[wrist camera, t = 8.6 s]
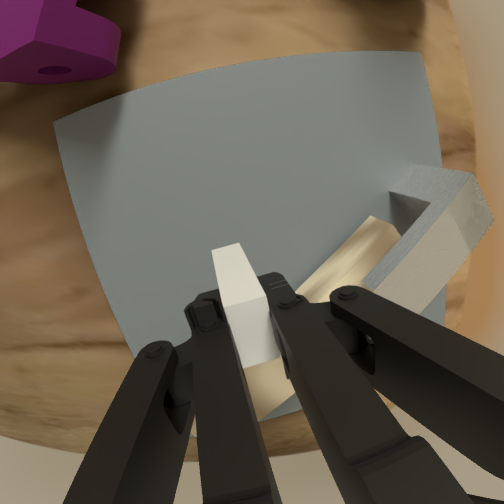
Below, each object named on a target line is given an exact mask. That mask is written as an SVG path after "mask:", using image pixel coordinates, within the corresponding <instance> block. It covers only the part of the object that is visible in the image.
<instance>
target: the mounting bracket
mask: <svg viewBox="0 0 504 504" xmlns="http://www.w3.org/2000/svg"><path fill="white" fill-rule="evenodd" d="M77 1H78V0H0V82H15V83H26V84H60V83H68V82H77V81H86V80H94V79H99V78H102V77H106V76H108V75H110V74H112V73H113V72H114V71H115V70H116V64H117V57H118V51H119V44H120V38H121V30H120V28H119V27H118V25H116V24H115V23H114V22H112V21H110V20H108V19H106V18H104V17H101V16H99V15H97V14H94V13H92V12H89V11H87V10H84V9H82V8H79V7H77V6H76V2H77Z"/></svg>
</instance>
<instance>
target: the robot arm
mask: <svg viewBox="0 0 504 504" xmlns="http://www.w3.org/2000/svg"><path fill="white" fill-rule="evenodd" d="M211 251H212V256H213V261H214V266H215V271H216V276H217V281H218V286H219V288H218V289H215V290H211V291H207V292H204V293H200V294H198V296H197V297H196V298H195V300H194V301H193V302H191V303H189V304H188V305H187V306H186V307H185V309H184V313H185V316H186V318H187V321H188V324H189V326H190V329H191V338H190V339H188V340H187V341H186V342H184V343H182V344H180V345H178V346H175V347H174V346H173V345H172V343H171V342H169V341H166V340H160V341H154V342H151V343H149V344H147V345H146V346H145V347H143V348H142V349H141V350H140V351H139V353H138V354H137V356H136V358H135V360H134V362H133V364H132V365H131V367H130V369H129V371H128V373H127V375H126V377H125V378H124V380H123V382H122V384H121V386H120V388H119V390H118V392H117V394H116V395H115V397H114V399H113V401H112V403H111V405H110V407H109V409H108V411H107V413H106V415H105V417H104V419H103V421H102V423H101V425H100V427H99V428H98V430H97V432H96V434H95V436H94V438H93V440H92V443H91V445H90V447H89V449H88V451H87V453H86V455H85V457H84V459H83V461H82V463H81V465H80V468H79V470H78V471H77V474H76V476H75V478H74V480H73V482H72V485H71V486H70V488H69V491H68V493H67V495H66V497H65V499H64V502H63V504H173V501H174V498H175V493H176V489H177V485H178V481H179V477H180V473H181V469H182V465H183V461H184V457H185V453H186V449H187V445H188V441H189V437H190V433H191V429H192V425H193V421H194V417H195V418H196V432H197V444H198V456H199V466H200V476H201V486H202V495H203V504H282V501H281V498H280V494H279V491H278V488H277V485H276V482H275V478H274V475H273V472H272V468H271V465H270V461H269V458H268V455H267V451H266V448H265V444H264V441H263V437H262V434H261V430H260V427H259V423H258V420H257V416H256V413H255V409H254V406H253V402H252V398H251V395H250V391H249V387H248V384H247V380H246V376H245V373H244V370H243V368H246V367H250V366H253V365H257V364H260V363H264V362H267V361H270V360H274V359H277V358H280V357H281V356H282V361H283V365H284V369H285V374H286V378H287V380H288V379H290V381H291V383H292V386H293V388H294V390H295V392H296V395H297V397H298V399H299V402H300V404H301V406H302V408H303V411H304V413H305V415H306V417H307V420H308V422H309V424H310V426H311V429H312V431H313V433H314V435H315V438H316V440H317V442H318V444H319V447H320V449H321V451H322V453H323V456H324V458H325V460H326V462H327V464H328V467H329V469H330V471H331V473H332V475H333V478H334V480H335V482H336V484H337V487H338V488H339V491H340V493H341V495H342V497H343V499H344V502H345V504H504V501H500V500H495V499H490V498H484V497H480V496H475V495H470V494H467V493H466V492H465V491H464V489H463V488H462V487H461V485H460V484H459V483H458V481H457V480H456V479H455V477H454V476H453V475H452V473H451V472H450V471H449V469H448V468H447V466H446V465H445V464H444V462H443V461H442V460H441V458H440V457H439V456H438V455H437V453H436V452H435V451H434V449H433V448H432V447H431V445H430V444H429V443H428V442H427V441H426V440H425V439H424V438H422V437H421V436H414V437H410V436H408V434H407V433H406V432H405V431H404V429H403V428H402V427H401V425H400V424H399V423H398V421H397V420H396V418H395V417H394V416H393V414H392V413H391V412H390V410H389V409H388V407H387V406H386V405H385V403H384V402H383V401H382V399H381V398H380V397H379V395H378V394H377V392H376V391H375V390H374V388H375V389H376V390H377V391H378V392H380V393H381V394H382V395H384V396H385V397H386V398H388V399H389V400H390V401H391V402H393V403H394V404H395V405H397V406H398V407H400V408H401V409H402V410H403V411H405V412H406V413H407V414H409V415H410V416H411V417H413V418H414V419H415V420H417V421H418V422H419V423H421V424H422V425H423V426H425V427H426V428H427V429H429V430H430V431H432V432H433V433H434V434H436V435H437V436H438V437H440V438H441V439H442V440H444V441H445V442H446V443H448V444H449V445H451V446H452V447H453V448H455V449H456V450H458V451H459V452H460V453H462V454H463V455H464V456H466V457H467V458H469V459H470V460H471V461H473V462H474V463H476V464H477V465H478V466H480V467H481V468H483V469H484V470H486V471H488V472H489V473H491V474H493V475H494V476H496V477H498V478H501V479H503V480H504V356H502V355H500V354H498V353H497V352H494V351H492V350H490V349H488V348H486V347H484V346H482V345H480V344H478V343H476V342H474V341H472V340H470V339H468V338H466V337H464V336H462V335H460V334H458V333H456V332H454V331H452V330H450V329H448V328H446V327H444V326H442V325H440V324H437V323H435V322H433V321H431V320H429V319H427V318H425V317H423V316H421V315H419V314H417V313H415V312H413V311H411V310H409V309H406V308H404V307H402V306H400V305H398V304H396V303H394V302H392V301H390V300H388V299H386V298H383V297H381V296H379V295H377V294H375V293H373V292H371V291H369V290H367V289H365V288H362V287H359V286H353V285H346V286H342V287H340V288H337V289H335V290H334V291H332V292H331V294H330V295H329V299H330V301H328V302H321V303H310V302H309V301H308V300H307V298H306V297H304V296H303V295H299V294H296V293H295V291H294V290H293V289H292V287H291V286H290V284H289V283H288V282H287V280H286V279H285V278H284V276H283V275H282V274H280V273H277V272H271V273H268V274H264V275H261V276H257V277H256V275H255V273H254V271H253V269H252V267H251V265H250V263H249V261H248V259H247V257H246V255H245V253H244V251H243V249H242V247H241V245H240V244H239V243H236V244H232V245H229V246H225V247H221V248H218V249H214V250H211ZM369 337H370V338H371V339H370V338H369ZM279 351H280V352H279ZM280 353H281V356H280Z"/></svg>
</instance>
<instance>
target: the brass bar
mask: <svg viewBox="0 0 504 504" xmlns="http://www.w3.org/2000/svg"><path fill="white" fill-rule="evenodd" d="M400 238H401V236H400V234H399V233H398V231H397V230H396V228H395V227H394V226H393V225H392V224H389V223H387V222H385V221H382V220H380V219H378V218H375V217H373V216H371V215H370V216H369V218H368V219H367V220H366V221H365V222H364V223H363V224H362V225H361V226H360V227H359V228H358V229H357V230H356V231H355V232H354V233H353V234H352V235H351V236H350V237H349V238H348V239H347V240H346V241H345V242H344V243H343V244H342V245H341V246H340V247H339V248H338V249H337V250H336V251H335V252H334V253H333V254H332V255H331V256H330V257H329V258H328V259H327V260H326V261H325V262H324V263H323V264H322V265H321V266H320V267H319V268H318V269H317V270H316V271H315V272H314V273H313V274H312V275H311V276H310V277H309V278H308V279H307V280H306V281H305V282H304V283H303V284H302V285H301V286H300V287H299V288H298V289H297V290H296V291H295V293H296V294H299V295H303V296H304V297H306V298H307V300H308V301H309V302H310V303H321V302H328V301H330V299H329V295H330V294H331V292H332V291H334V290H335V289H337V288H340V287H342V286H346V285H353V286H359V287H362V288H365V289H367V287H366V286H365V285H364V284H363V283H362V282H361V280H362V279H363V278H364V277H365V276H366V275H367V274H368V273H369V272H370V271H371V270H372V269H373V268H374V267H375V266H376V265H377V264H378V262H379V261H380V260H381V259H382V258H383V257H384V256H385V255H386V254H387V253H388V252H389V251H390V250H391V248H392V247H393V246H394V245H395V244H396V243H397V242H398V241H399V240H400ZM367 290H368V289H367ZM279 352H280V351H279ZM280 356H281V353H280ZM243 370H244V373H245V376H246V380H247V384H248V387H249V391H250V395H251V398H252V402H253V406H254V409H255V413H256V416H257V420H258V421H259V420H260V419H262V418H263V417H265V416H266V415H267V414H268V413H270V412H271V411H272V410H274V409H275V408H276V407H278V406H279V405H280V404H281V403H283V402H284V401H285V400H287V399H288V398H289V397H290V396H292V395H293V394H294V393H295V390H294V388H293V386H292V383H291V381H290V379H288V380H287V378H286V374H285V369H284V365H283V361H282V356H281V357H280V358H277V359H274V360H270V361H267V362H264V363H260V364H257V365H253V366H250V367H246V368H243ZM191 434H192V435H193V436H195V437H197V432H196V418H195V417H194V421H193V425H192V429H191Z"/></svg>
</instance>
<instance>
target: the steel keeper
mask: <svg viewBox="0 0 504 504" xmlns="http://www.w3.org/2000/svg"><path fill="white" fill-rule="evenodd" d="M389 191H390V193H391V194H392V196H393V197H394V198H395V200H396V201H397V203H398V204H399V205H400V207H401V208H402V210H403V211H404V213H405V214H406V215H407V217H408V218H409V220H410V221H411V223H412V224H413V225H412V226H411V227H410V228H409V229H408V231H407V232H406V233H405V234H404V235H403V236H402V237H401V238H400V240H399V241H398V242H397V243H396V244H395V245H394V246H393V247H392V248H391V250H390V251H389V252H388V253H387V254H386V255H385V256H384V257H383V258H382V259H381V260H380V261H379V262H378V264H377V265H376V266H375V267H374V268H373V269H372V270H371V271H370V272H369V273H368V274H367V275H366V276H365V277H364V278H363V279H362V280H361V282H362V283H363V284H364V285H365V286H366V287H367V289H368V290H369V291H371V292H373V293H375V294H377V295H379V296H381V297H383V298H386V299H388V300H390V301H392V302H394V303H396V304H398V305H400V306H402V307H404V308H406V309H409V310H411V311H413V312H415V313H417V314H420V313H421V312H422V311H423V310H424V309H425V307H426V306H427V305H428V304H429V303H430V302H431V301H432V300H433V298H434V297H435V296H436V295H437V294H438V293H439V292H440V290H441V289H442V288H443V287H444V286H445V284H446V283H447V282H448V281H449V280H450V278H451V277H452V276H453V275H454V274H455V272H456V271H457V270H458V269H459V267H460V266H461V265H462V264H463V262H464V261H465V260H466V258H467V257H468V256H469V255H470V253H471V252H472V251H473V249H474V248H475V247H476V245H477V244H478V243H479V241H480V240H481V238H482V237H483V236H484V234H485V233H486V232H487V230H488V229H489V227H490V226H491V224H492V223H493V221H494V218H493V216H492V213H491V211H490V208H489V206H488V204H487V201H486V199H485V197H484V195H483V193H482V191H481V188H480V186H479V184H478V182H477V180H476V178H475V176H474V174H473V173H469V172H463V171H457V170H451V169H444V168H437V167H430V166H422V165H415V164H413V165H412V166H411V167H410V168H409V169H408V170H407V172H406V173H405V174H404V175H403V176H402V177H401V178H400V179H399V181H398V182H397V183H396V184H395V185H394V186H393V187H392V188H391V189H390V190H389Z"/></svg>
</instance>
